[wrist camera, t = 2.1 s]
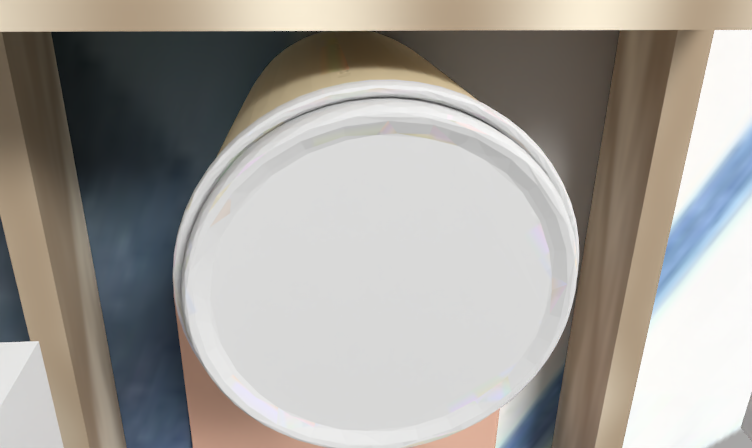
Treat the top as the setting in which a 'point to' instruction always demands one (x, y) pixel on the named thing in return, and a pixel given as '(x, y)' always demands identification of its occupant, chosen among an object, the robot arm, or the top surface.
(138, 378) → the top surface
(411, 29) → the bay
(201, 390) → the front mat
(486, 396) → the coffee cup
